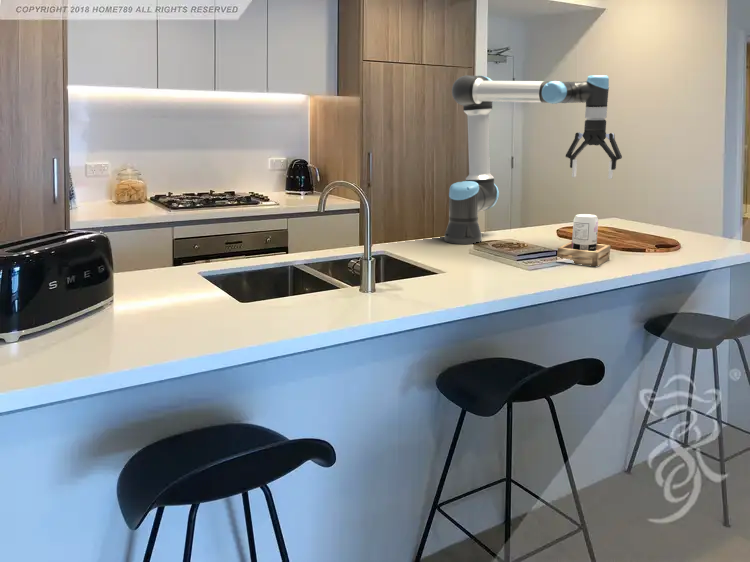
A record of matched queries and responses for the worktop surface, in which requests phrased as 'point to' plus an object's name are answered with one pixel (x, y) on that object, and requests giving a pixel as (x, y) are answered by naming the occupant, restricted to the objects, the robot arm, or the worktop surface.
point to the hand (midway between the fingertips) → (591, 177)
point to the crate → (585, 254)
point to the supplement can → (585, 233)
